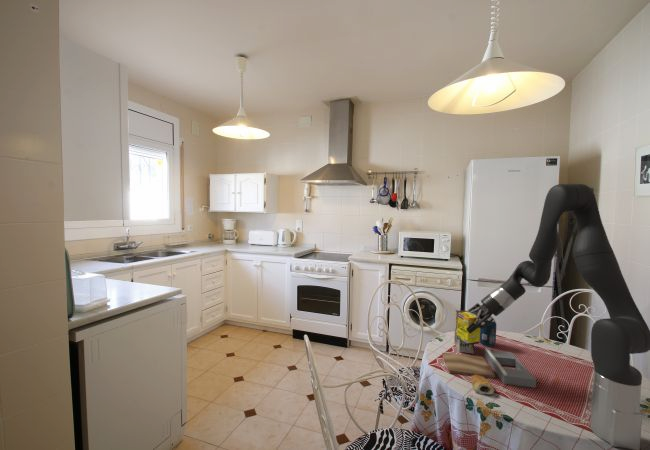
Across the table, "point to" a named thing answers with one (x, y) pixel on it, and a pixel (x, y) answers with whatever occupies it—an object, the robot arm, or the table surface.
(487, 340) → the soda can
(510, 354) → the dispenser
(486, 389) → the pastry
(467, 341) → the supplement box
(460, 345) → the coffee box
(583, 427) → the table surface
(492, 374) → the tan flat board
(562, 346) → the table surface
